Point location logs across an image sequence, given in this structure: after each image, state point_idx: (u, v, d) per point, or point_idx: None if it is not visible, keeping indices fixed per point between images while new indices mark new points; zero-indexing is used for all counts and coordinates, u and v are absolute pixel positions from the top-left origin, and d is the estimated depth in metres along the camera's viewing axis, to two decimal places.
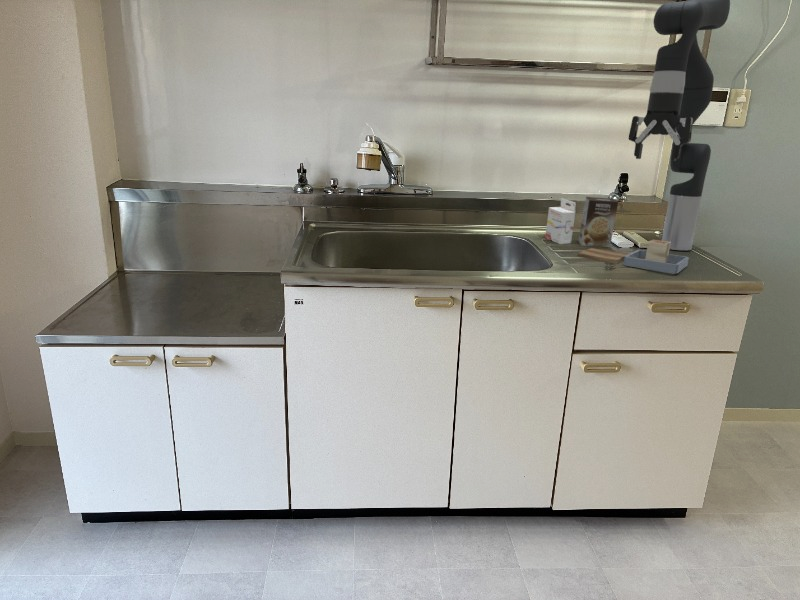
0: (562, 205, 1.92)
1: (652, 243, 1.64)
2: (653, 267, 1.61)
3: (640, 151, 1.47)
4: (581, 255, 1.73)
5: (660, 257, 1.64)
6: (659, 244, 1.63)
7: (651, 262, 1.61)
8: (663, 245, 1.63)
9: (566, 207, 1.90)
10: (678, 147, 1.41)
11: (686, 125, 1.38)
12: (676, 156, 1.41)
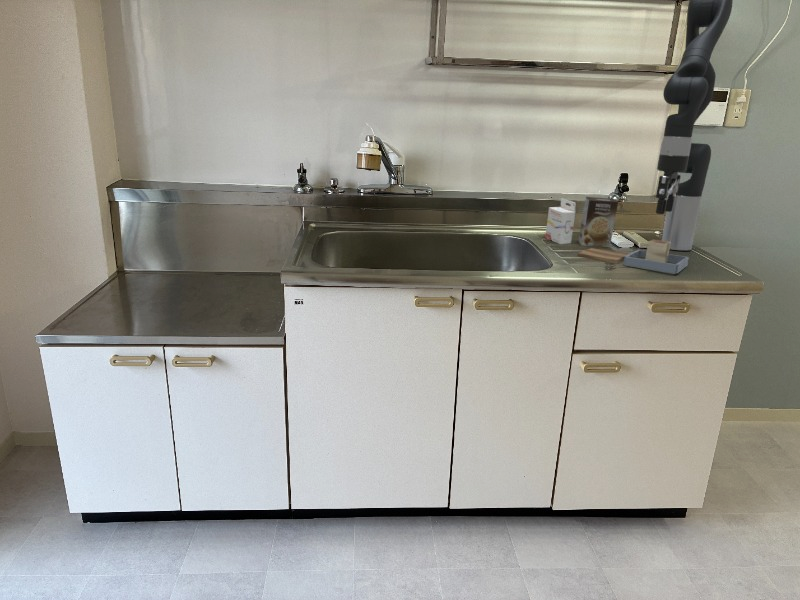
0: (562, 205, 1.92)
1: (652, 243, 1.64)
2: (653, 267, 1.61)
3: None
4: (581, 255, 1.73)
5: (660, 257, 1.64)
6: (659, 244, 1.63)
7: (651, 262, 1.61)
8: (663, 245, 1.63)
9: (566, 207, 1.90)
10: None
11: (678, 181, 1.65)
12: None
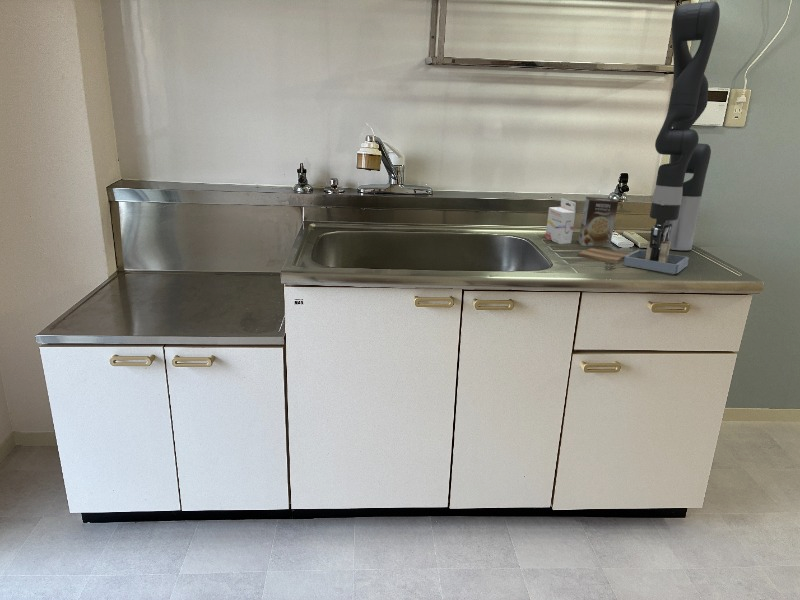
0: (562, 205, 1.92)
1: None
2: (653, 267, 1.61)
3: None
4: (581, 255, 1.73)
5: (660, 257, 1.64)
6: None
7: (651, 262, 1.61)
8: (663, 245, 1.63)
9: (566, 207, 1.90)
10: None
11: (670, 230, 1.68)
12: None
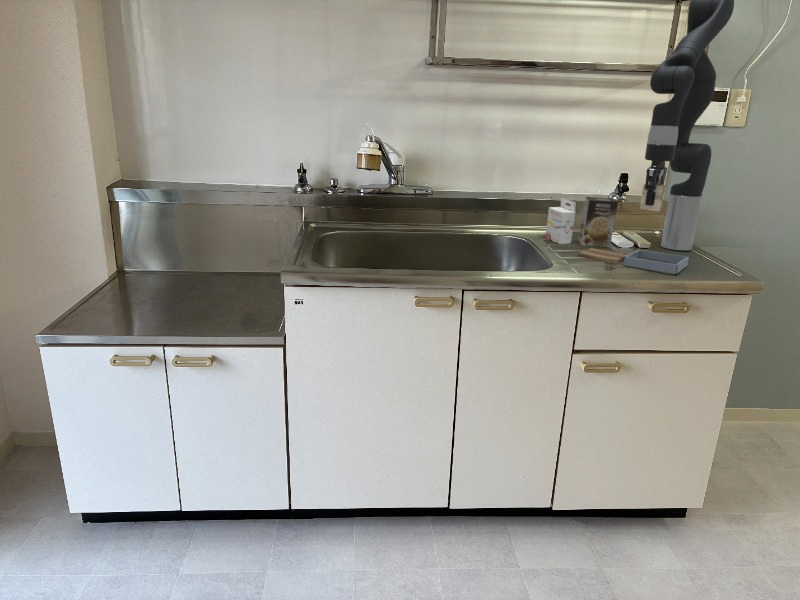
0: (562, 205, 1.92)
1: None
2: (653, 267, 1.61)
3: None
4: (581, 255, 1.73)
5: (655, 199, 1.61)
6: None
7: (651, 262, 1.61)
8: (659, 187, 1.60)
9: (566, 207, 1.90)
10: None
11: (665, 173, 1.66)
12: None
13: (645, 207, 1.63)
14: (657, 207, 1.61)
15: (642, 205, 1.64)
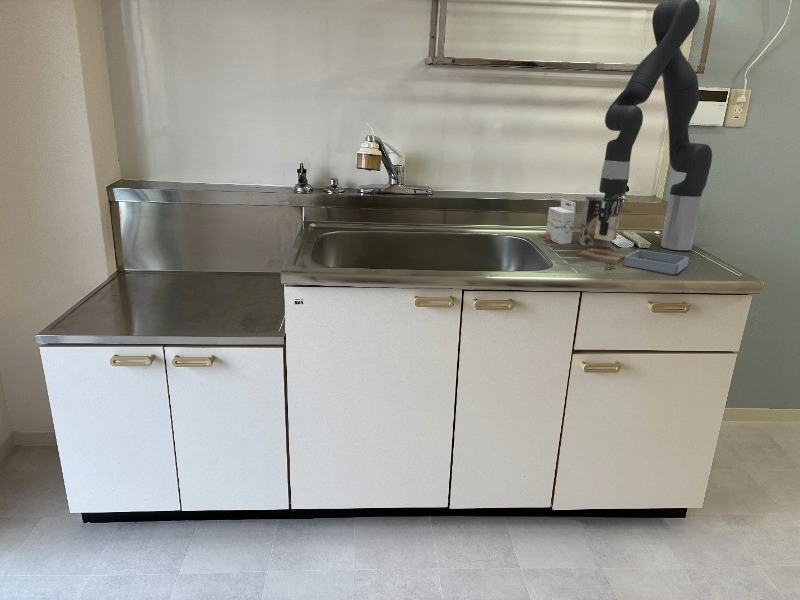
0: (562, 205, 1.92)
1: None
2: (653, 267, 1.61)
3: None
4: (581, 255, 1.73)
5: (608, 230, 1.70)
6: None
7: (651, 262, 1.61)
8: (611, 218, 1.69)
9: (566, 207, 1.90)
10: None
11: (619, 205, 1.74)
12: None
13: (599, 237, 1.72)
14: (610, 237, 1.70)
15: (596, 234, 1.72)
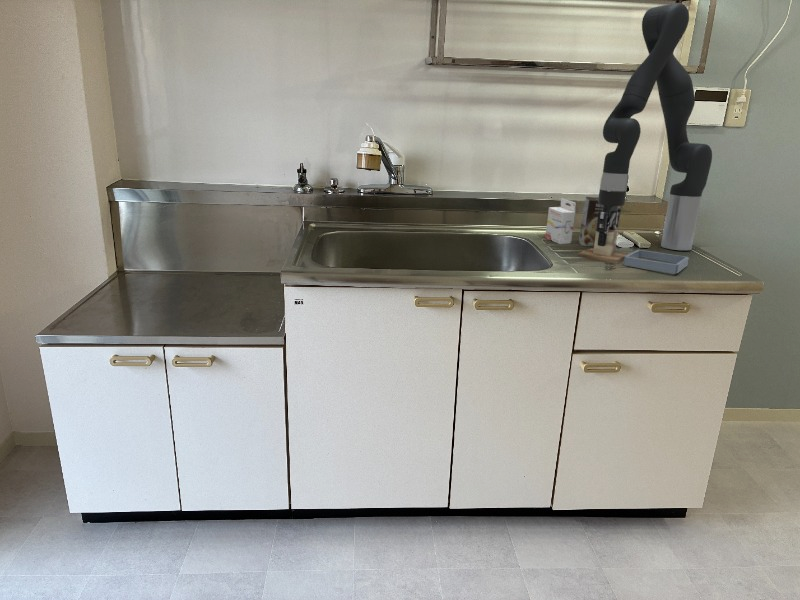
0: (562, 205, 1.92)
1: None
2: (653, 267, 1.61)
3: None
4: (581, 255, 1.73)
5: (607, 245, 1.71)
6: None
7: (651, 262, 1.61)
8: (610, 234, 1.70)
9: (566, 207, 1.90)
10: None
11: (619, 214, 1.75)
12: None
13: (598, 252, 1.74)
14: (609, 252, 1.72)
15: (595, 249, 1.74)
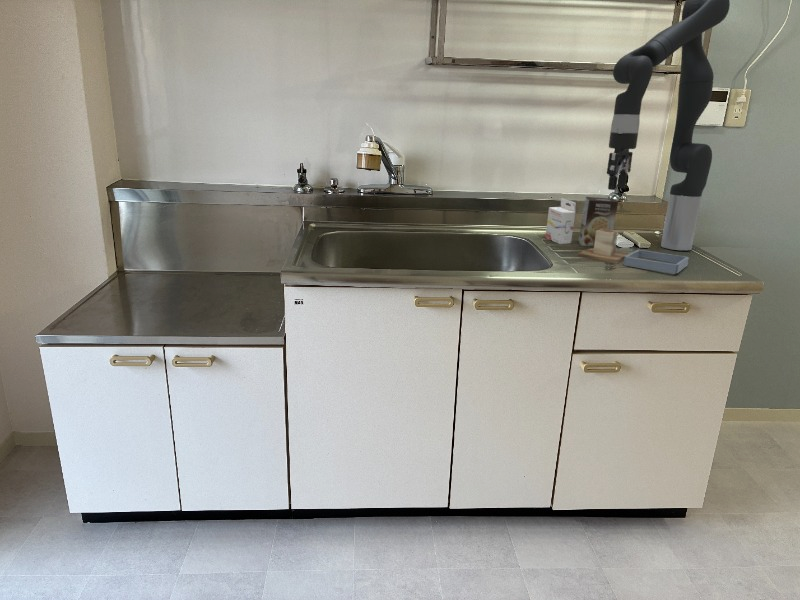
0: (562, 205, 1.92)
1: (600, 232, 1.72)
2: (653, 267, 1.61)
3: None
4: (581, 255, 1.73)
5: (607, 245, 1.71)
6: (606, 233, 1.71)
7: (651, 262, 1.61)
8: (610, 234, 1.70)
9: (566, 207, 1.90)
10: None
11: (631, 158, 1.71)
12: None
13: (598, 252, 1.74)
14: (609, 252, 1.72)
15: (595, 249, 1.74)
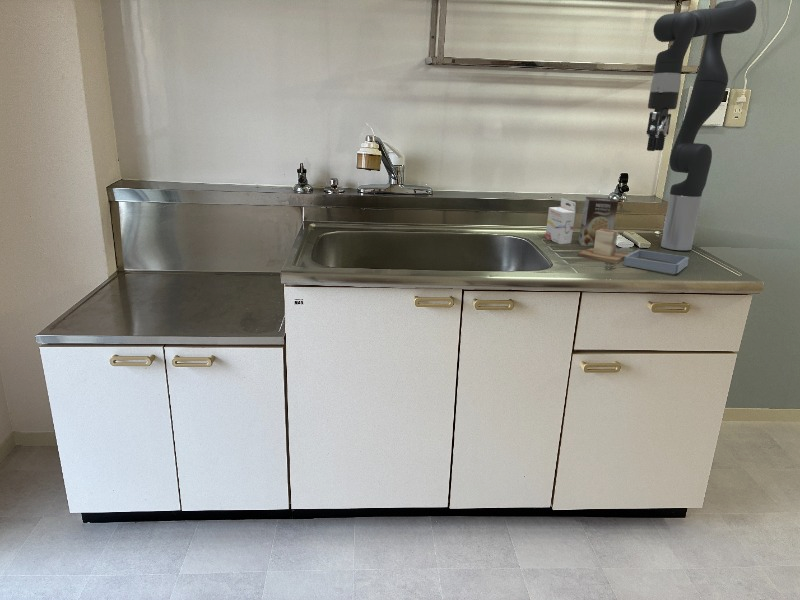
0: (562, 205, 1.92)
1: (600, 232, 1.72)
2: (653, 267, 1.61)
3: None
4: (581, 255, 1.73)
5: (607, 245, 1.71)
6: (606, 233, 1.71)
7: (651, 262, 1.61)
8: (610, 234, 1.70)
9: (566, 207, 1.90)
10: None
11: (669, 120, 1.67)
12: None
13: (598, 252, 1.74)
14: (609, 252, 1.72)
15: (595, 249, 1.74)
